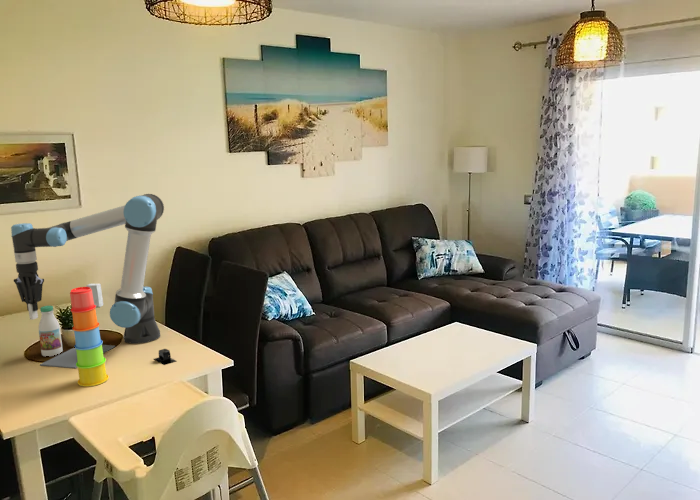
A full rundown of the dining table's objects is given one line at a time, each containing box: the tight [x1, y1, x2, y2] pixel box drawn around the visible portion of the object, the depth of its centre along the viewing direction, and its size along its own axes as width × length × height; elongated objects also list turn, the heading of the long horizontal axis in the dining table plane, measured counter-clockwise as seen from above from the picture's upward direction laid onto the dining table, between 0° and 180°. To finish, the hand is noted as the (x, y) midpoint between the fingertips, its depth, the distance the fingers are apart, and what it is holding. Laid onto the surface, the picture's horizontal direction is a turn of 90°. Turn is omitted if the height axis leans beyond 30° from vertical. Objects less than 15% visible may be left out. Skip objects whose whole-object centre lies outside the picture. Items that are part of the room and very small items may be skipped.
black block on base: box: [152, 348, 178, 366], centre depth 220 cm, size 12×7×5 cm, turn 45°
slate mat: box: [39, 344, 116, 369], centre depth 228 cm, size 16×24×1 cm, turn 166°
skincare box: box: [85, 283, 104, 308], centre depth 300 cm, size 6×4×12 cm
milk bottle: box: [38, 305, 64, 357], centre depth 229 cm, size 8×8×20 cm
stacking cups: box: [69, 286, 110, 388], centre depth 199 cm, size 10×10×35 cm
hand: (34, 318), depth 230 cm, fingers closed
